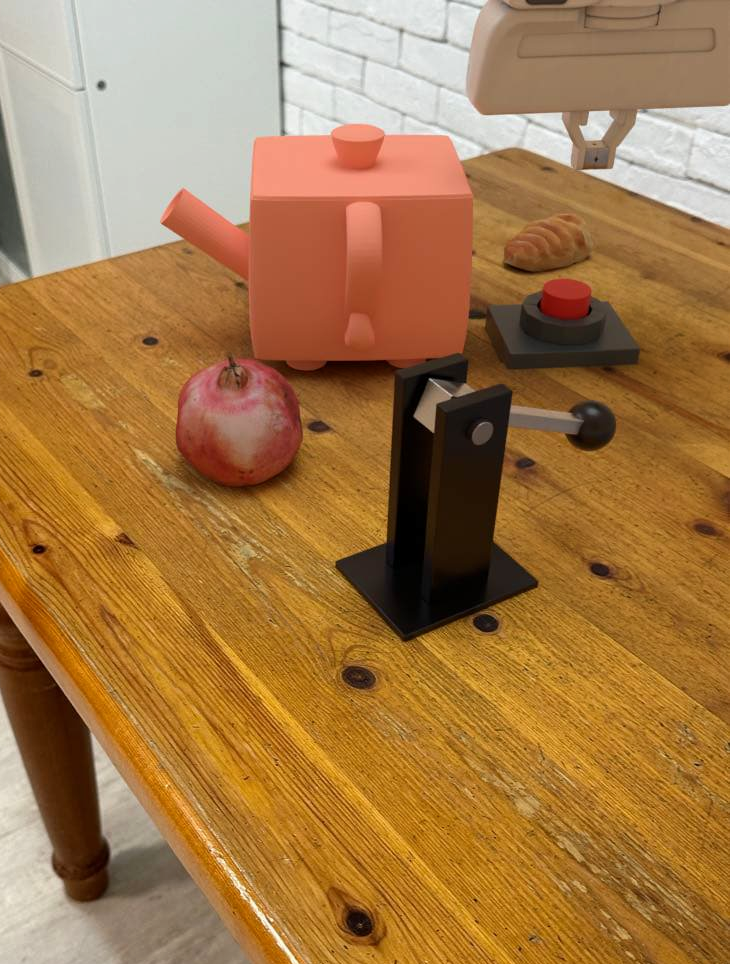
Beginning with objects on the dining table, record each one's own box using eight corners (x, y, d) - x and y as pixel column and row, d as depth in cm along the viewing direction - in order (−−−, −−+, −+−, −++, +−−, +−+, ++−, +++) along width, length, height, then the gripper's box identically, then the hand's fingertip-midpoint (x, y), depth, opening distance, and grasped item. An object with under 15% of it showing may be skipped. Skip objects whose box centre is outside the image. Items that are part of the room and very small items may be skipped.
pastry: (537, 283, 101) (542, 245, 99) (484, 262, 105) (488, 225, 103) (596, 257, 106) (602, 220, 104) (544, 238, 110) (549, 202, 108)
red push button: (580, 299, 90) (584, 277, 89) (593, 320, 87) (597, 298, 86) (535, 301, 90) (538, 279, 89) (546, 322, 87) (550, 299, 86)
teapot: (160, 405, 83) (135, 182, 72) (181, 283, 101) (164, 89, 90) (472, 400, 84) (495, 178, 73) (438, 280, 102) (453, 87, 91)
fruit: (228, 421, 82) (221, 302, 75) (328, 460, 77) (329, 338, 71) (148, 476, 76) (133, 352, 69) (252, 522, 71) (245, 394, 65)
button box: (604, 323, 95) (611, 281, 92) (635, 372, 88) (645, 329, 85) (484, 327, 94) (489, 286, 92) (507, 377, 87) (512, 334, 85)
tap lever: (578, 438, 68) (600, 393, 67) (612, 462, 66) (635, 416, 65) (405, 418, 59) (426, 367, 58) (437, 446, 57) (460, 393, 56)
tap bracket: (461, 527, 71) (482, 329, 62) (536, 595, 66) (572, 389, 56) (334, 575, 67) (337, 371, 58) (403, 651, 62) (418, 439, 52)
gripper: (747, -45, 76) (706, 148, 84) (468, -37, 74) (455, 159, 83) (785, -28, 71) (737, 176, 79) (487, -19, 70) (471, 187, 78)
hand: (591, 167), depth 81 cm, fingers closed
